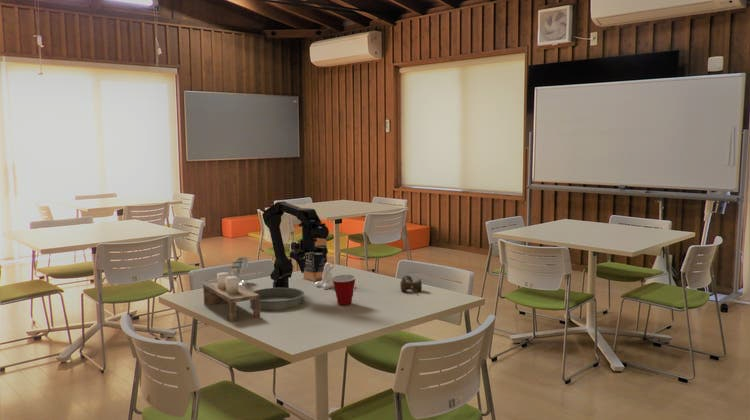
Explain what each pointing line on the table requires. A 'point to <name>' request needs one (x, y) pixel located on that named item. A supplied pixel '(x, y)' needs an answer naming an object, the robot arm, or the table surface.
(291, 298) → the grey round tray
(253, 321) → the table surface
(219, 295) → the walnut counter shelf
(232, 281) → the two tumblers
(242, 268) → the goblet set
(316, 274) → the whiskey bottle
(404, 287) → the kendama
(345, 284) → the plastic cup
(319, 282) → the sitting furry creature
